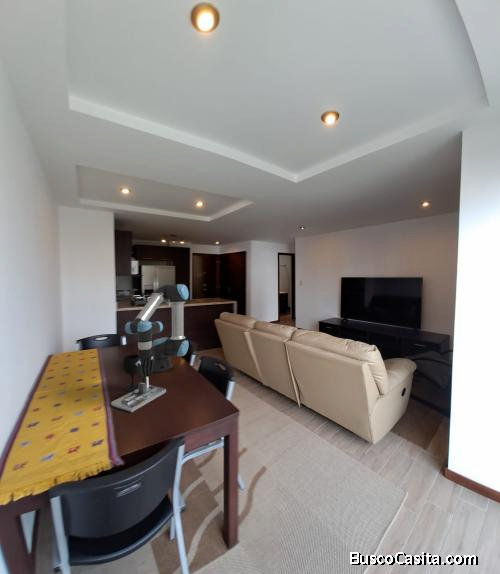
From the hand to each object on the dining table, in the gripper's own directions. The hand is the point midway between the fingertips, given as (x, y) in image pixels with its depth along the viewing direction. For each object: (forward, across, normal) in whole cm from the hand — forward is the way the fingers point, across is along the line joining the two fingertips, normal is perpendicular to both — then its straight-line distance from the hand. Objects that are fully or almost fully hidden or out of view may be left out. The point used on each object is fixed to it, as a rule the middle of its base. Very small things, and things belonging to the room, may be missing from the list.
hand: (146, 387), depth 142 cm
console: (+5, +4, 0) cm, 6 cm away
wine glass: (+5, -4, -16) cm, 17 cm away
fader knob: (+2, +3, 0) cm, 4 cm away
